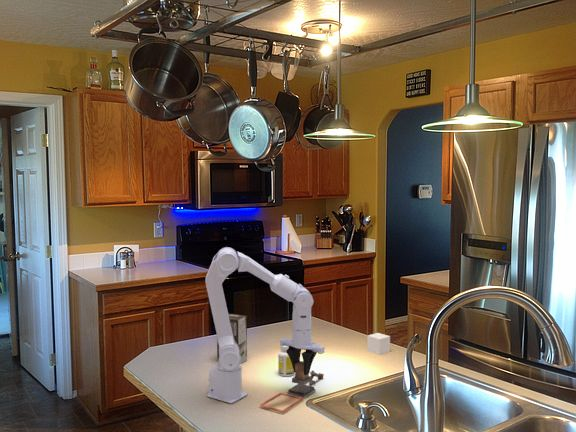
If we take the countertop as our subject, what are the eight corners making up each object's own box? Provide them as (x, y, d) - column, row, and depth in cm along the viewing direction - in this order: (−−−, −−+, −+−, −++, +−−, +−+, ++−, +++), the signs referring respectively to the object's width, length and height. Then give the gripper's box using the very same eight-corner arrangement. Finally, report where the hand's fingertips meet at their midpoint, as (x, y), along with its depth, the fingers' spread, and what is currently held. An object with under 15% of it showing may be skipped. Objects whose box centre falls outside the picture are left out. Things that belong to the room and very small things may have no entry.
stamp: (291, 382, 163) (292, 364, 163) (299, 377, 167) (299, 359, 167) (304, 385, 161) (304, 366, 161) (311, 380, 165) (312, 362, 164)
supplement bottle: (296, 372, 182) (296, 343, 181) (292, 377, 177) (292, 348, 176) (280, 370, 183) (281, 342, 183) (276, 376, 178) (276, 346, 177)
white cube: (377, 348, 208) (377, 332, 208) (389, 351, 204) (390, 336, 203) (367, 351, 204) (367, 335, 204) (379, 355, 200) (379, 339, 199)
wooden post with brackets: (306, 384, 169) (308, 369, 170) (316, 386, 176) (318, 372, 177) (311, 385, 168) (314, 370, 170) (321, 387, 175) (323, 373, 176)
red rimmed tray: (259, 407, 154) (259, 404, 154) (280, 394, 163) (280, 392, 163) (283, 414, 149) (283, 411, 149) (303, 401, 158) (303, 398, 158)
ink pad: (287, 394, 163) (287, 389, 163) (298, 387, 168) (298, 382, 168) (304, 399, 160) (304, 394, 160) (315, 391, 165) (315, 386, 165)
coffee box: (247, 360, 193) (247, 315, 192) (238, 365, 188) (238, 319, 186) (225, 356, 197) (225, 312, 196) (216, 361, 191) (216, 316, 190)
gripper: (329, 329, 162) (329, 373, 163) (288, 321, 170) (288, 364, 171) (317, 334, 156) (317, 380, 157) (276, 327, 164) (276, 371, 165)
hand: (301, 372), depth 164 cm, fingers closed on stamp, 3 cm apart
